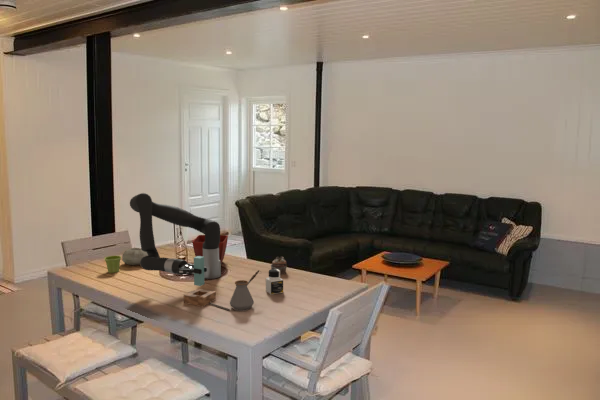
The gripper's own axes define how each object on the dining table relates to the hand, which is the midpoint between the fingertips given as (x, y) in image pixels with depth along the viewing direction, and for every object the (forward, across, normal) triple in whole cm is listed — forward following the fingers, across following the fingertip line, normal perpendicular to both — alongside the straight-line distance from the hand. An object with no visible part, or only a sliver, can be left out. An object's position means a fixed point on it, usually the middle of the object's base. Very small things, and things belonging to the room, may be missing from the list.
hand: (203, 270), depth 241 cm
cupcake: (+11, +59, +16) cm, 62 cm away
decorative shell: (-79, +38, +16) cm, 89 cm away
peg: (-3, 0, +8) cm, 8 cm away
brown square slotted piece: (-3, 0, +16) cm, 16 cm away
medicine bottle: (+24, +29, +16) cm, 41 cm away
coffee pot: (+21, +6, +16) cm, 27 cm away
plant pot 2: (-36, +58, +16) cm, 70 cm away
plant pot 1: (-80, +19, +17) cm, 83 cm away
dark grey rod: (+11, -3, +16) cm, 19 cm away
